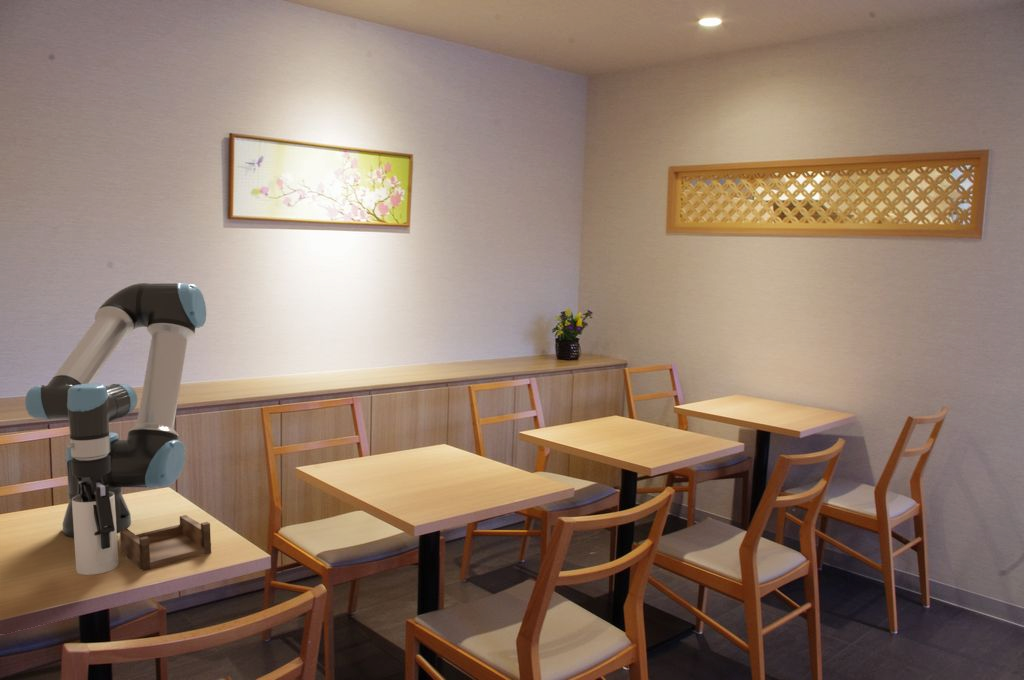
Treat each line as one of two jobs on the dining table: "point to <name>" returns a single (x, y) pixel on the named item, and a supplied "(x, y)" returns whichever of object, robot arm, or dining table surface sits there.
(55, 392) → the robot arm
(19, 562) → the dining table surface
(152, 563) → the tray
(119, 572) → the dining table surface
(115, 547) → the cup
